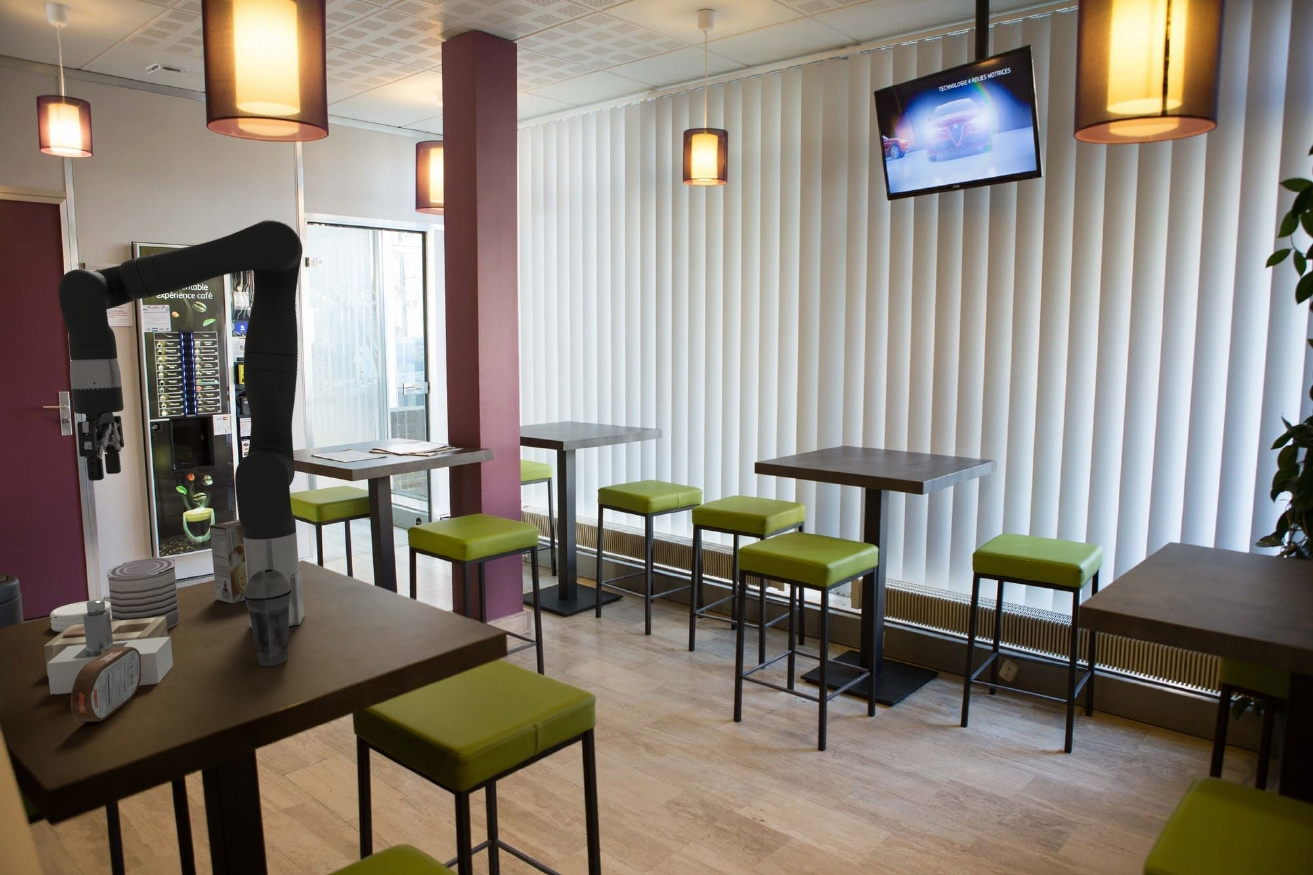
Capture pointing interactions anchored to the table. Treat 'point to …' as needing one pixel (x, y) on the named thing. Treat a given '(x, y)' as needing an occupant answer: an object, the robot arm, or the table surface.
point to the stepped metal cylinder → (97, 628)
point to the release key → (75, 632)
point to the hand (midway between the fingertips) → (105, 476)
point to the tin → (106, 684)
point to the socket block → (119, 633)
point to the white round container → (71, 615)
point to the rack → (151, 650)
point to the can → (144, 590)
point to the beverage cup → (269, 614)
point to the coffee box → (228, 561)
